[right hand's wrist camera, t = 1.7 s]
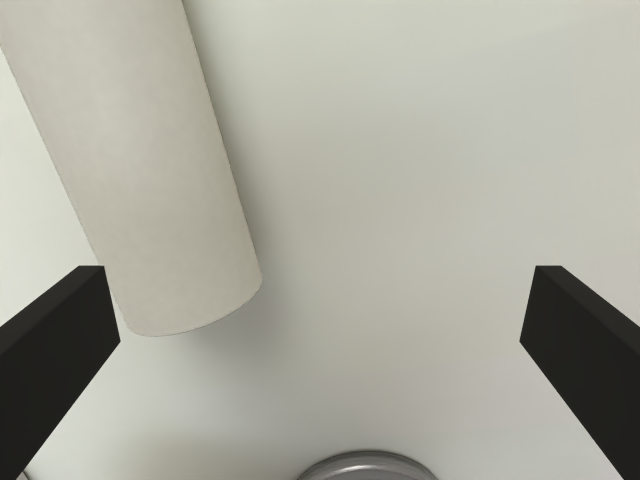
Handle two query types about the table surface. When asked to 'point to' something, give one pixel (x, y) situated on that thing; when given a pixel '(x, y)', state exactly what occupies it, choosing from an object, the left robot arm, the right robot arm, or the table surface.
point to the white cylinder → (136, 154)
